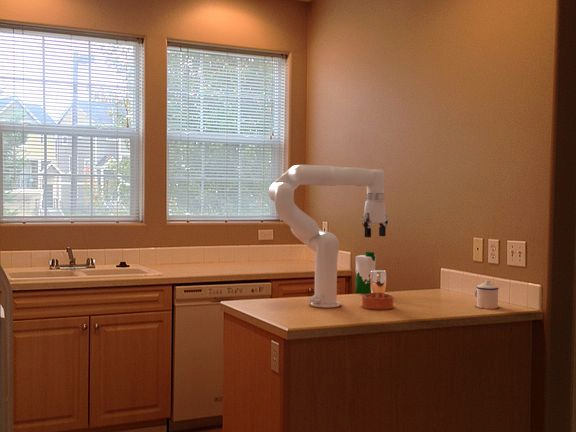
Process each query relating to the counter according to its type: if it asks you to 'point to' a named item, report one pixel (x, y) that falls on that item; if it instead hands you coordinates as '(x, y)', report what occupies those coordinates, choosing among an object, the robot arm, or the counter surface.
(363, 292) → the milk carton
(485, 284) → the teacup with lid
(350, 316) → the counter surface
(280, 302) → the counter surface
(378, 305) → the bowl
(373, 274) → the beer glass
